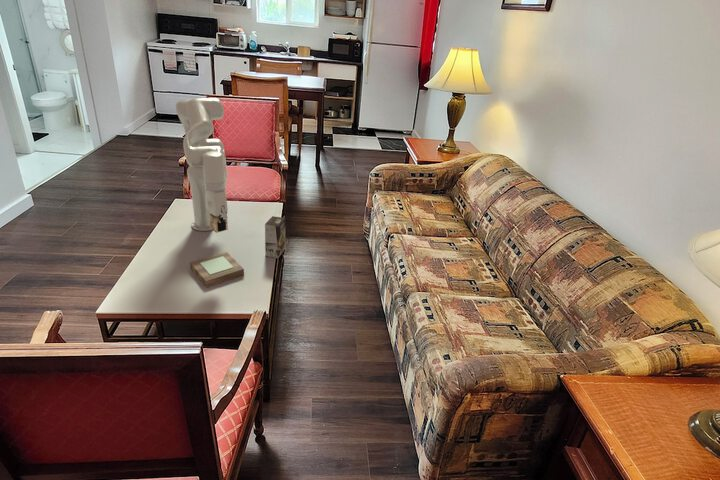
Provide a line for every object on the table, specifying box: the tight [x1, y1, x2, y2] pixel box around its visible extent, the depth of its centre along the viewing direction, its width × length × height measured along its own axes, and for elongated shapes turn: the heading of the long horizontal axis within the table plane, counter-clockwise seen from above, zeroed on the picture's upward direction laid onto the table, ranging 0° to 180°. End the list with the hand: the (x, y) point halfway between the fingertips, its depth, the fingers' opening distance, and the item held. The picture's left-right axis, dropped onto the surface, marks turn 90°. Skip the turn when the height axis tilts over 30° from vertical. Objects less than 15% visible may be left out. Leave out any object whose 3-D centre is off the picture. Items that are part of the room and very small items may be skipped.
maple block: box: [209, 213, 229, 234], centre depth 169 cm, size 5×5×6 cm
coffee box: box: [264, 216, 286, 259], centre depth 191 cm, size 9×6×16 cm
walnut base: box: [189, 251, 245, 288], centre depth 176 cm, size 16×16×3 cm
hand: (218, 227), depth 170 cm, fingers closed on maple block, 5 cm apart
